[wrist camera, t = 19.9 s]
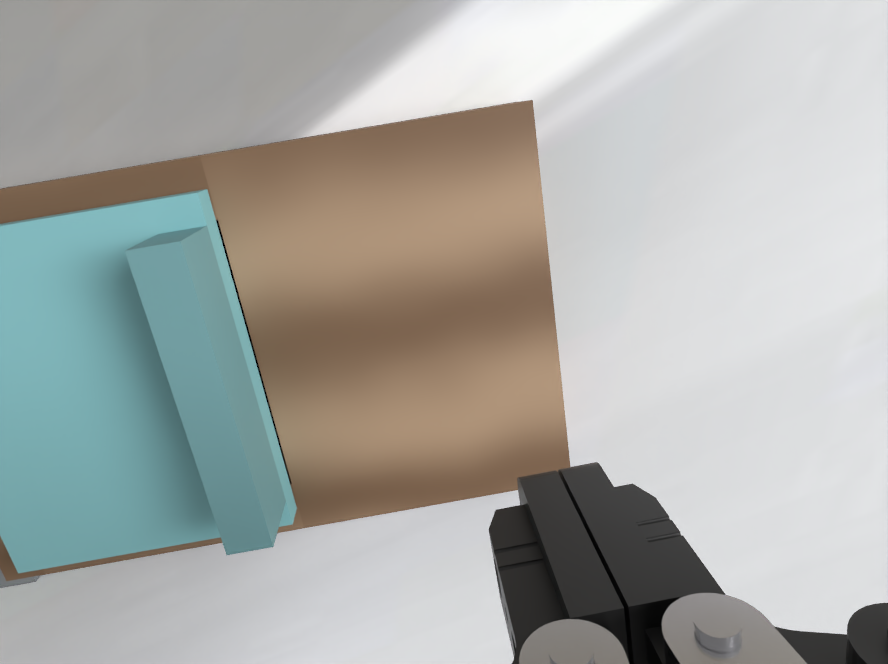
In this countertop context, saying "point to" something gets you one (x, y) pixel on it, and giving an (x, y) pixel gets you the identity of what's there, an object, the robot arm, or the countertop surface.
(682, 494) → the countertop surface
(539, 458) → the wooden frame
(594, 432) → the countertop surface
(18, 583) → the slate pad
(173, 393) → the sliding cover
